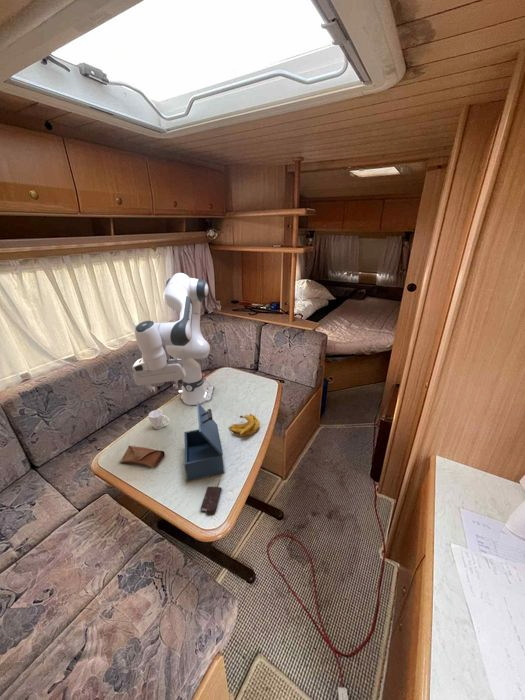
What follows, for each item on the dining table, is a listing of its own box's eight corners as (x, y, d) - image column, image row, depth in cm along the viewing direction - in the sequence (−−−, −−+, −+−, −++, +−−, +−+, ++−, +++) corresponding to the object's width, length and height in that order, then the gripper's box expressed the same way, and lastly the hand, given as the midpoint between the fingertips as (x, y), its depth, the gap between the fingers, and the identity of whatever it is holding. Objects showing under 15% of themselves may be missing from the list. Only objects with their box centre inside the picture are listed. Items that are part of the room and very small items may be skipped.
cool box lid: (199, 432, 103) (210, 424, 103) (196, 403, 121) (206, 397, 121) (221, 456, 110) (232, 449, 111) (215, 425, 128) (225, 419, 128)
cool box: (187, 480, 111) (184, 464, 107) (187, 447, 128) (184, 432, 125) (224, 472, 114) (222, 456, 111) (218, 440, 132) (216, 425, 128)
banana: (262, 417, 147) (261, 408, 145) (256, 442, 130) (255, 432, 128) (234, 415, 150) (233, 406, 147) (225, 439, 132) (224, 430, 130)
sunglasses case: (118, 463, 120) (120, 447, 121) (128, 459, 127) (130, 444, 127) (155, 468, 116) (157, 452, 117) (163, 464, 123) (165, 448, 124)
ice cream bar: (211, 478, 111) (200, 513, 98) (211, 475, 111) (199, 510, 97) (224, 479, 111) (214, 514, 97) (223, 476, 110) (214, 511, 97)
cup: (155, 421, 147) (152, 409, 143) (172, 422, 145) (170, 410, 142) (148, 430, 140) (145, 417, 137) (167, 431, 139) (164, 418, 136)
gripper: (183, 354, 113) (190, 382, 119) (132, 361, 112) (142, 389, 118) (180, 361, 107) (188, 390, 113) (127, 368, 106) (138, 397, 112)
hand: (164, 389), depth 115 cm, fingers open, 8 cm apart
